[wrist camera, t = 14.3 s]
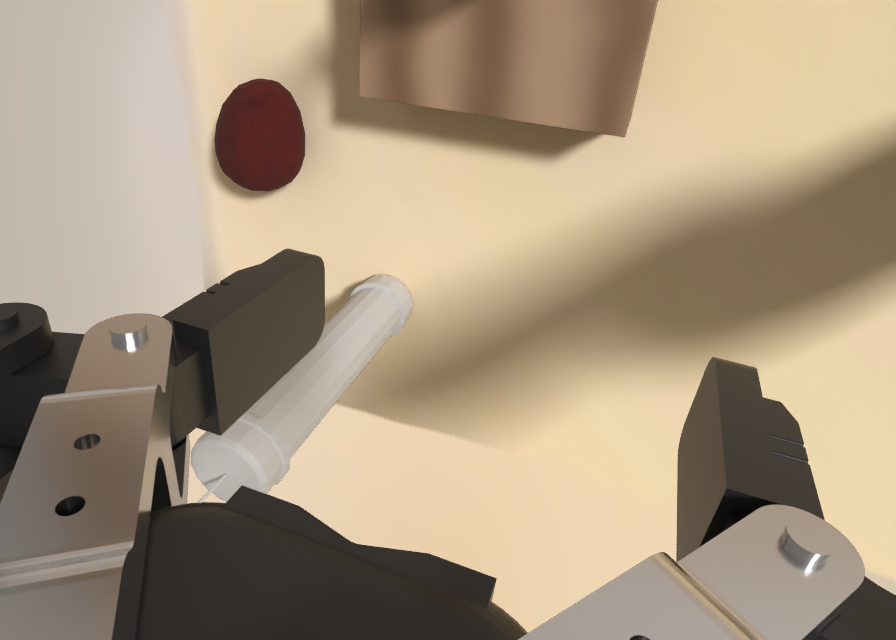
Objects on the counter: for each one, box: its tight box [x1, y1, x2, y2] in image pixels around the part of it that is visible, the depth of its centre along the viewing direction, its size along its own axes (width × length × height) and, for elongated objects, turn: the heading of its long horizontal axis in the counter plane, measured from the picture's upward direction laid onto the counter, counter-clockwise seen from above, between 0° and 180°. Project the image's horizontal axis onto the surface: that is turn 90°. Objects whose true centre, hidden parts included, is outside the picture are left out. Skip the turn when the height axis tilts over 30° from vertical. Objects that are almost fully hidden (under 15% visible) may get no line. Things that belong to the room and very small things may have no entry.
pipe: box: [191, 275, 413, 503], centre depth 43 cm, size 6×6×30 cm
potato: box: [215, 79, 305, 191], centre depth 48 cm, size 8×9×6 cm
